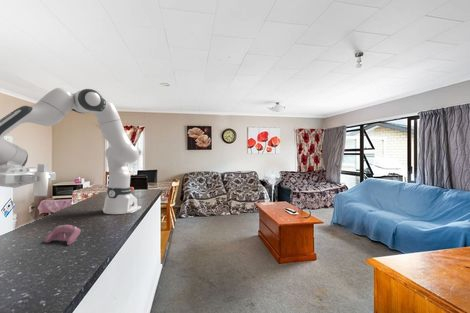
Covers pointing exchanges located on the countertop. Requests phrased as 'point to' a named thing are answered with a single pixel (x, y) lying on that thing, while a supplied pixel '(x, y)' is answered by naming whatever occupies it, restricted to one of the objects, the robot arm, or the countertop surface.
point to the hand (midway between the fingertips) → (43, 178)
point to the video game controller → (60, 234)
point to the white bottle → (41, 181)
